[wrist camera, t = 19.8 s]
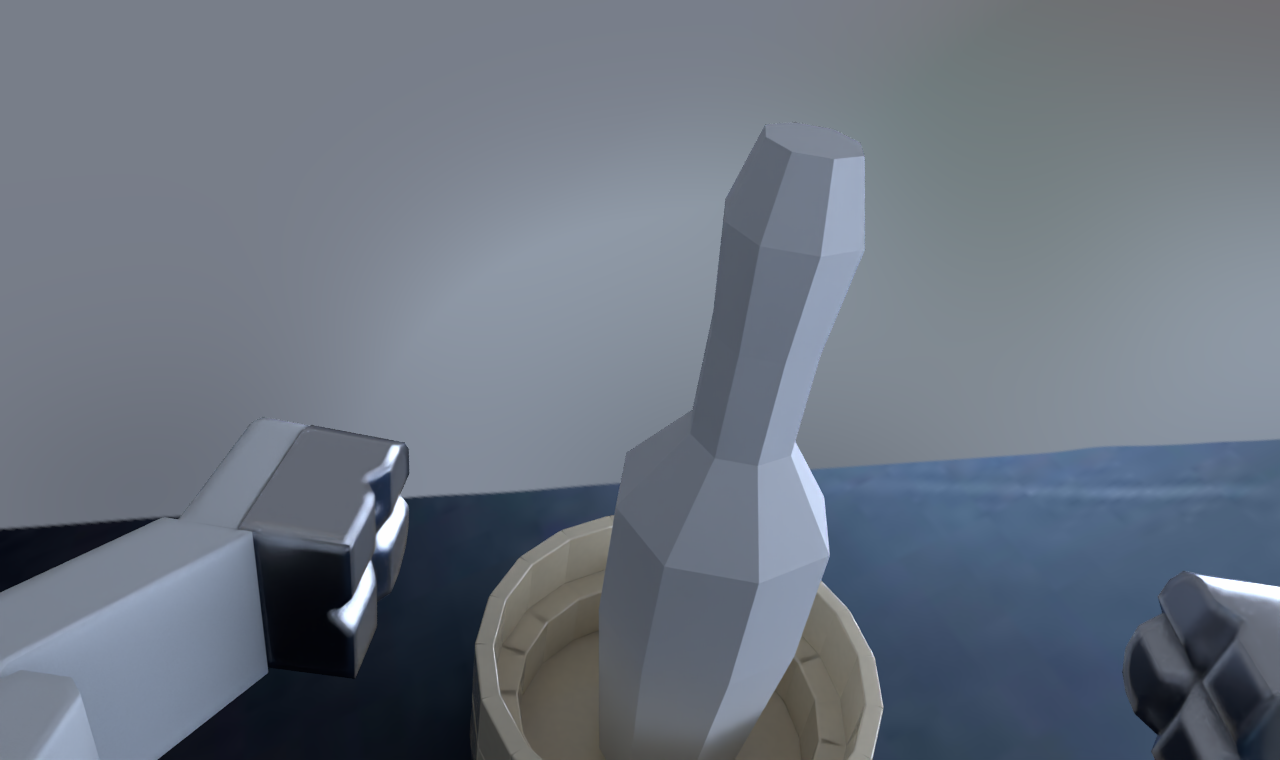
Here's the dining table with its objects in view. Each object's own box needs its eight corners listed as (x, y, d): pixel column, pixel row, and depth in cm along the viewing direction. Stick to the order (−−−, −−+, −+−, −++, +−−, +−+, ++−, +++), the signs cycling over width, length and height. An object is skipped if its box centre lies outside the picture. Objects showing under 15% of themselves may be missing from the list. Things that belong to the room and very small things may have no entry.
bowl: (425, 911, 27) (427, 807, 24) (511, 588, 38) (520, 489, 35) (858, 978, 27) (914, 882, 24) (820, 637, 39) (855, 542, 36)
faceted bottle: (776, 813, 31) (1014, 203, 19) (591, 839, 29) (721, 190, 17) (721, 660, 36) (880, 103, 24) (561, 675, 34) (644, 85, 22)
